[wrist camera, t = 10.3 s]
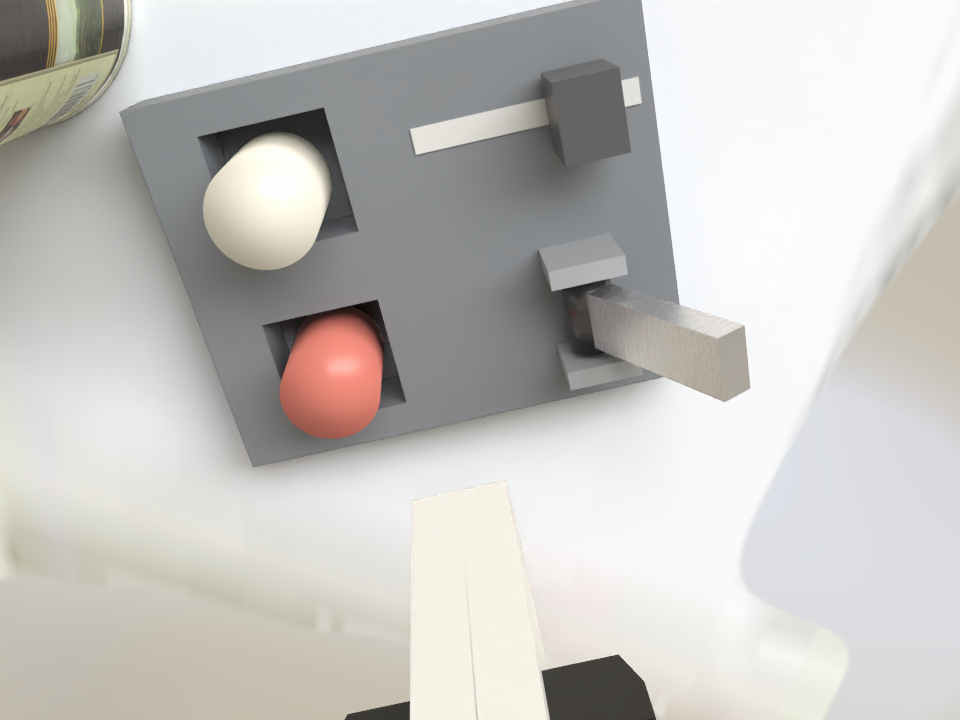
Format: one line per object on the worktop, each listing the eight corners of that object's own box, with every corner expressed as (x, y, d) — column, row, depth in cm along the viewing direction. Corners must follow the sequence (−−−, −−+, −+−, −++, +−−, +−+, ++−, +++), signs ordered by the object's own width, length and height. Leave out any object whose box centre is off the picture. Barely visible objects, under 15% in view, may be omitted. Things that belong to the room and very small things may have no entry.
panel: (263, 434, 43) (240, 504, 37) (141, 100, 36) (92, 125, 30) (670, 344, 42) (708, 401, 37) (622, -12, 35) (660, -7, 30)
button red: (309, 394, 41) (296, 448, 36) (283, 315, 39) (266, 361, 35) (393, 375, 41) (391, 427, 36) (371, 295, 39) (365, 339, 34)
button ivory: (249, 240, 36) (225, 280, 31) (216, 144, 34) (186, 171, 30) (344, 219, 36) (333, 256, 31) (316, 121, 34) (300, 145, 30)
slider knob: (554, 151, 34) (566, 167, 32) (540, 73, 33) (551, 82, 30) (614, 137, 34) (631, 152, 32) (602, 58, 33) (619, 67, 30)
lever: (562, 346, 37) (716, 414, 30) (550, 281, 36) (707, 334, 29) (600, 329, 38) (759, 391, 31) (588, 265, 37) (752, 312, 29)
